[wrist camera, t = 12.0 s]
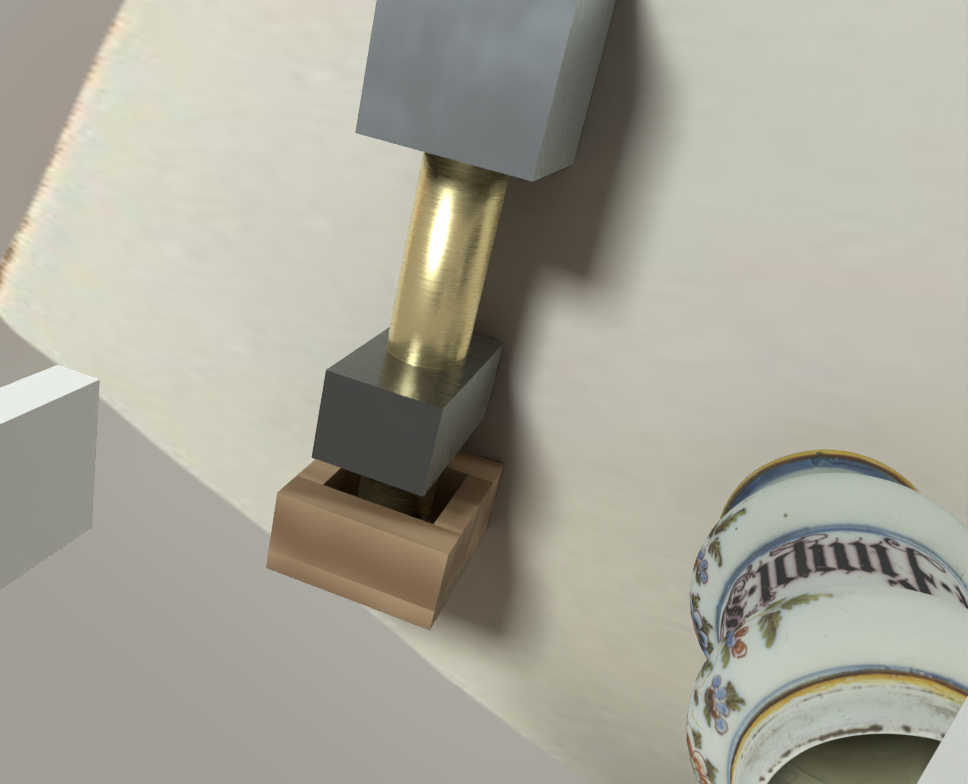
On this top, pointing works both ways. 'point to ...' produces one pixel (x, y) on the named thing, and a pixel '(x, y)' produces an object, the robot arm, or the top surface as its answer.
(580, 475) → the top surface
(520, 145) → the sleeve
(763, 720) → the apothecary jar
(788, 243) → the top surface
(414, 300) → the tube
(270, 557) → the socket block
